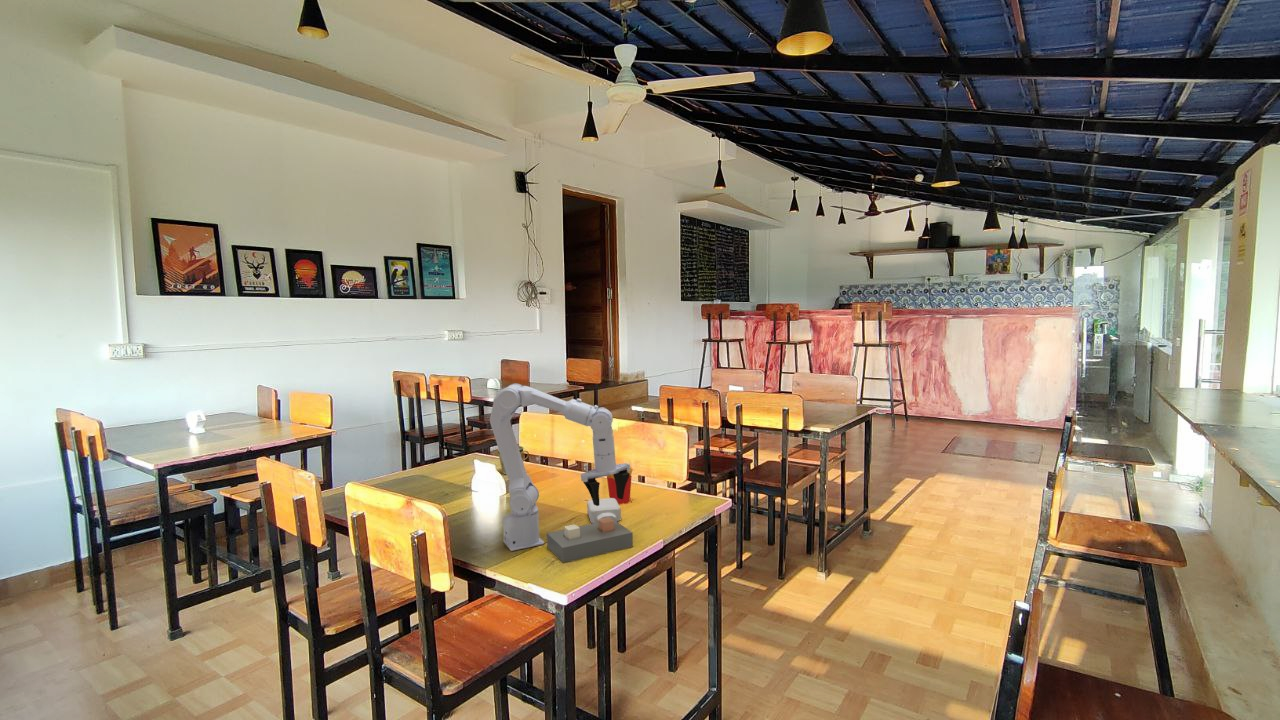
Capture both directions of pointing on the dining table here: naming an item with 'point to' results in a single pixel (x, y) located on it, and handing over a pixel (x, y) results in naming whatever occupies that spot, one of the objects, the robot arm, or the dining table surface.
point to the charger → (604, 510)
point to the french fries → (613, 488)
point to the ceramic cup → (502, 461)
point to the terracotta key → (606, 525)
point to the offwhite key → (571, 532)
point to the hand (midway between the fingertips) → (608, 501)
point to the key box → (589, 542)
